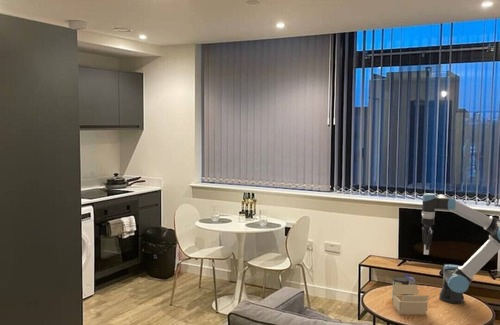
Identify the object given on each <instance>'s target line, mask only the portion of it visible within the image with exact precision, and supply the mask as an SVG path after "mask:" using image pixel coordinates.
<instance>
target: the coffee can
mask: <svg viewBox="0 0 500 325" xmlns="http://www.w3.org/2000/svg"><path fill="white" fill-rule="evenodd" d="M393 285H409V279H408V278H405V277H404V276H393V277H392V294H391V296H392V297H391V300H392V301H393V296H394V295H408V294H395V293H394V287H393Z"/></svg>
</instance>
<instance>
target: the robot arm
mask: <svg viewBox="0 0 500 325" xmlns="http://www.w3.org/2000/svg"><path fill="white" fill-rule="evenodd" d="M422 195H423V196H422V210H421V217H422V218H421V224H422V225H423V226H422V227H421V231H422V243H423V255H427V256H428V255H429V254H430V245H431V244H432V239H433V236H434V235H433V234H434V230H433V228H432V226H433V225H435V216H436V215H435V214H436V210H448V211H450V212H451V213H454V214H456V215H458V216H459V217H462V218H464V219H466V220H468V221H470V222H472V223H474V224H475V225H478V226H480V227H482V228H483V229H484V230H485V231H487V232H489V234H488V239H487V240H486V241H485V242H484V243H483V244H482V245H481V246H480V247H479V248H478V250H476V251H475V252H474V253H473V254H472V255H471V256H470V258H468V259H467V261H465V262H464V263H463V265H458V264H444V265H443V277H442V288H441V290H440V292H439V299H440V300H441V301H443V302H445V303H449V304H462V303H464V302H465V297H464V293H465V292H466V291H468V289H469V286H470V284H471V282H473V280H474V276H475V275H476V274H477V273H478V272H479V271H480V270H481V269H482V268H483V267H484V266H485V265H486V264H487V263H488V262H489V261H490V260H491V259H492V258H493V257H494V256H495V255H496V254H498V252H499V251H500V219H499V218H497V217H494V216H491V215H490V216H488V215H486V214H484V213H482V212H480V211H478V210H475V209H473V208H472V207H470V206H467V205H465V204H463V203H461V202H459V201H457V200H456V198H454V197H448V196H447V195H445V194H441V193H440V194H437V195H436V194H435V193H432V192H431V193H429V192H428V193H424V194H422Z"/></svg>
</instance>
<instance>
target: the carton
mask: <svg viewBox="0 0 500 325" xmlns="http://www.w3.org/2000/svg"><path fill="white" fill-rule="evenodd" d="M403 297H404V295H394V296H393V300H392V305H393V308H394V310H396V312H397V313H398V314H399V315H400V316H427V312H428V301H427V302H414V301H402V299H403Z"/></svg>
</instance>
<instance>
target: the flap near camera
mask: <svg viewBox="0 0 500 325" xmlns="http://www.w3.org/2000/svg"><path fill="white" fill-rule="evenodd" d="M429 298H430V295H420V294H414V295H404V297H403V299H402V301H414V302H427V303H428V299H429Z"/></svg>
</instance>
